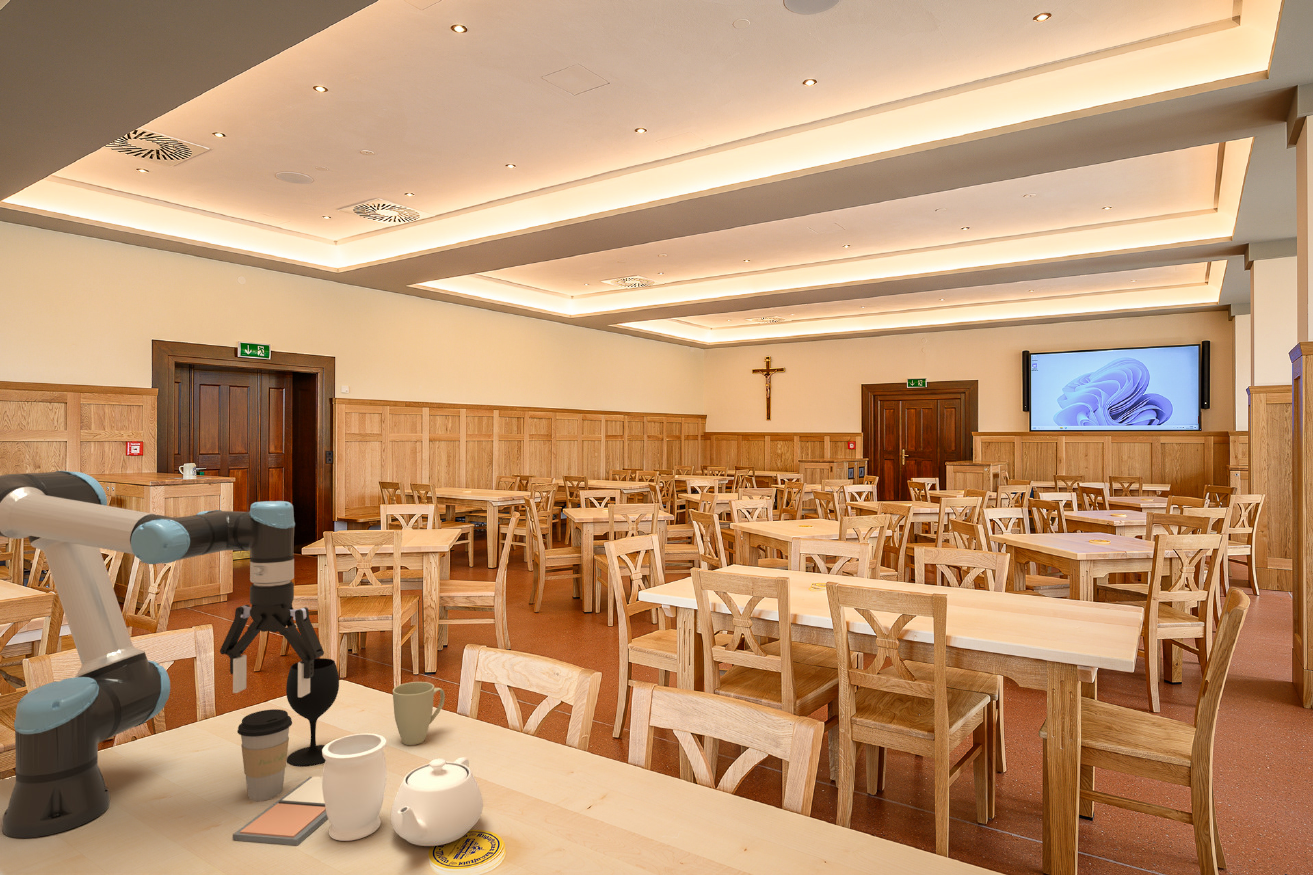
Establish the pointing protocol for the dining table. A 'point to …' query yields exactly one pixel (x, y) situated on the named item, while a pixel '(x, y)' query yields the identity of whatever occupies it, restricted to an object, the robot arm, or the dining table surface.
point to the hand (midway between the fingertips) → (271, 692)
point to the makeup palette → (288, 817)
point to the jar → (354, 784)
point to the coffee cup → (265, 752)
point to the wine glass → (312, 706)
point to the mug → (415, 710)
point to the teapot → (437, 803)
